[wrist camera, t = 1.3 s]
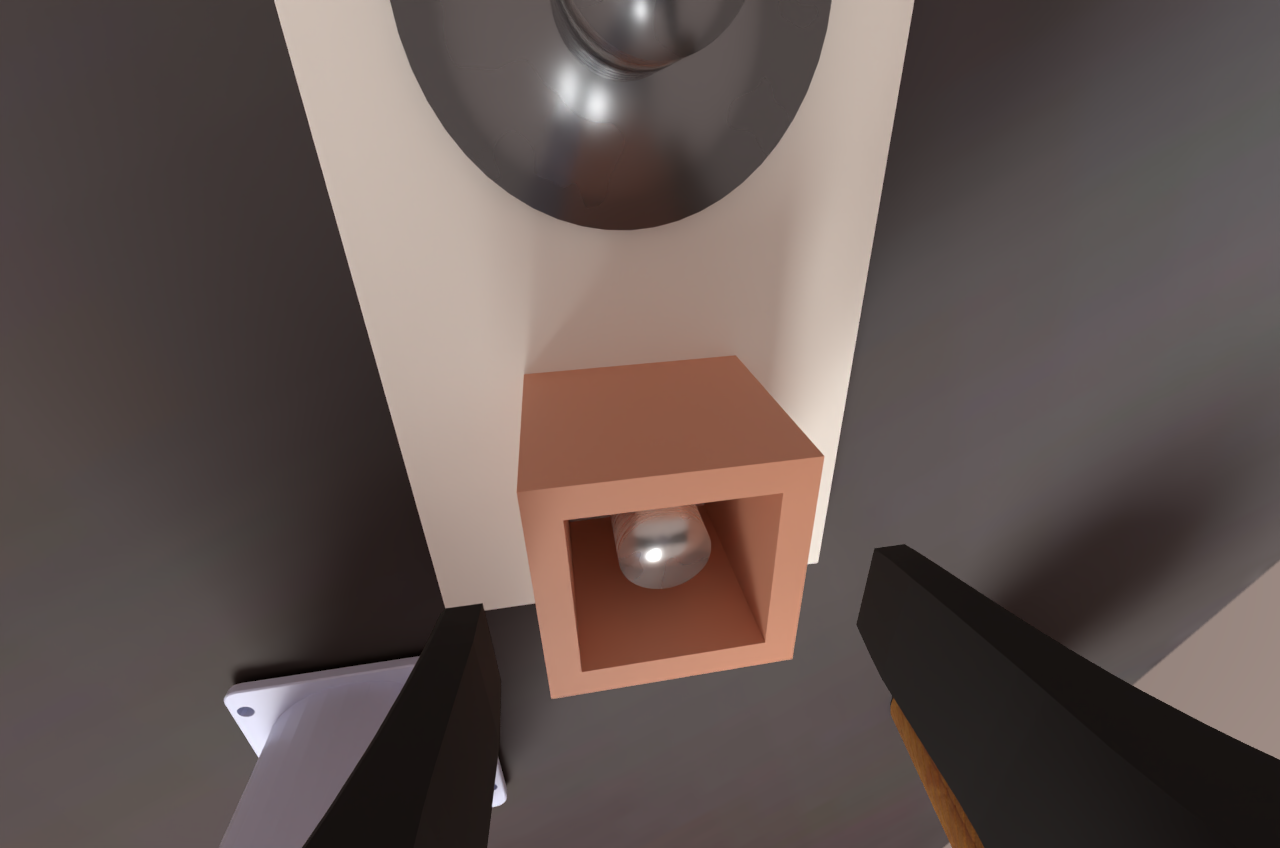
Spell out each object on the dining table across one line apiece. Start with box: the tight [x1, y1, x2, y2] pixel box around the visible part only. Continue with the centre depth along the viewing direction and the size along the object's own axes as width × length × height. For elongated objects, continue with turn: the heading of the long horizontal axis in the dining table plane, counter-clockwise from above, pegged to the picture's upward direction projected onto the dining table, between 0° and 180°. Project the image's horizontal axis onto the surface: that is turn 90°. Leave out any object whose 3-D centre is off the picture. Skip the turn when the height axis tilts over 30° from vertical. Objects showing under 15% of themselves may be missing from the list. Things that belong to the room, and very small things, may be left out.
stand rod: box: [610, 504, 711, 589], centre depth 13 cm, size 2×2×4 cm
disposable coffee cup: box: [891, 698, 984, 848], centre depth 21 cm, size 10×10×12 cm
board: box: [274, 0, 914, 611], centre depth 13 cm, size 20×12×2 cm, turn 2°
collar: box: [517, 355, 825, 699], centre depth 13 cm, size 5×5×5 cm
